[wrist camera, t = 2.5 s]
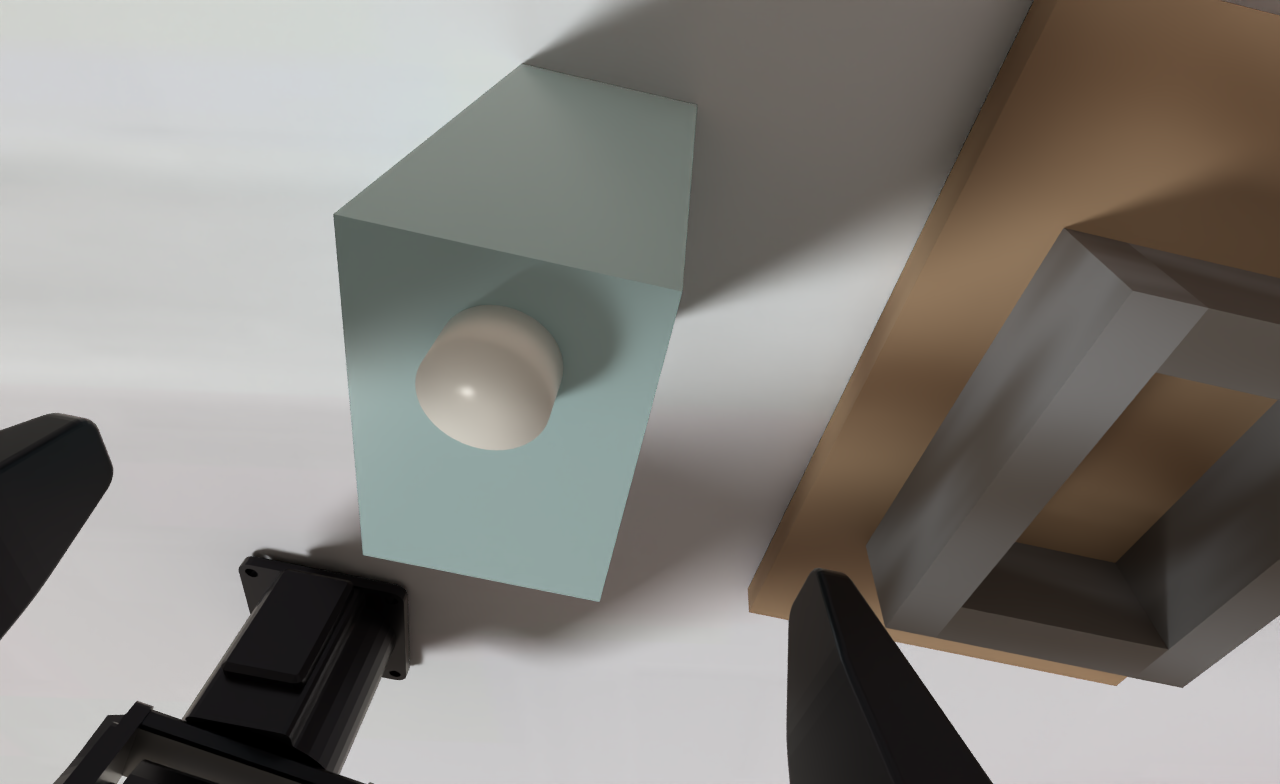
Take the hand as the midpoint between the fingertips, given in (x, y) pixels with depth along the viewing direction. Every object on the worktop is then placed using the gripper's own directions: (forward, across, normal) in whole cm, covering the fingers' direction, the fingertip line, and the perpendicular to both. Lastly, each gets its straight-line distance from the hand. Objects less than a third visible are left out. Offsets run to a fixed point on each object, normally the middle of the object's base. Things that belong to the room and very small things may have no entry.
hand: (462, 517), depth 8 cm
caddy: (+10, -15, +3) cm, 18 cm away
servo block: (+10, 0, 0) cm, 10 cm away
